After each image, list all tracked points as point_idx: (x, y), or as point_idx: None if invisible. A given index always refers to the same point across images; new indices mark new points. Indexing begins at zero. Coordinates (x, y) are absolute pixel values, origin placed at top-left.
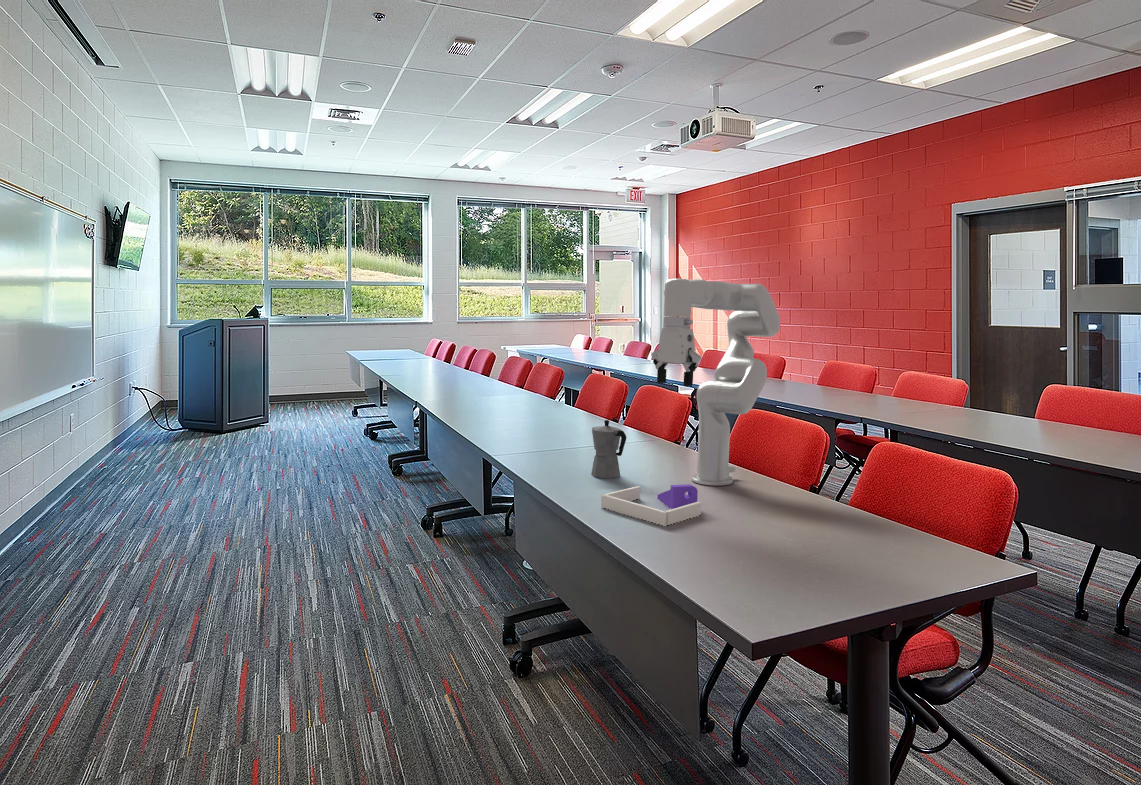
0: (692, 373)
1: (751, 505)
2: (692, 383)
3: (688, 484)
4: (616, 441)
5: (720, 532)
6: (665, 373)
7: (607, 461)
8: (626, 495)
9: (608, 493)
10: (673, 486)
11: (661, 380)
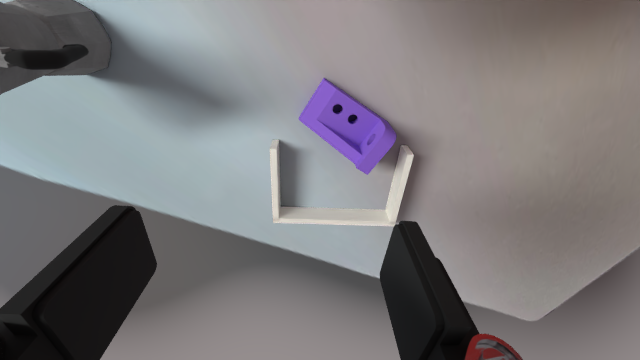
0: (471, 333)
1: (465, 12)
2: (420, 231)
3: (379, 141)
4: (19, 41)
5: (459, 186)
6: (83, 278)
7: (73, 63)
8: (278, 175)
9: (274, 211)
10: (365, 172)
11: (143, 263)
